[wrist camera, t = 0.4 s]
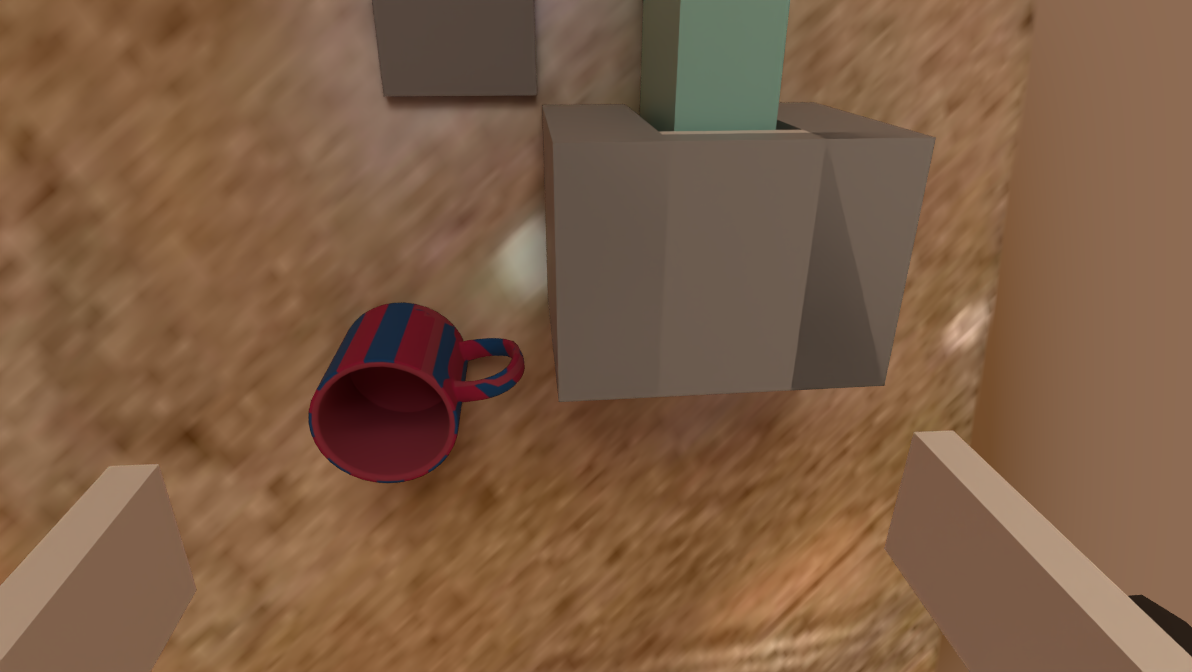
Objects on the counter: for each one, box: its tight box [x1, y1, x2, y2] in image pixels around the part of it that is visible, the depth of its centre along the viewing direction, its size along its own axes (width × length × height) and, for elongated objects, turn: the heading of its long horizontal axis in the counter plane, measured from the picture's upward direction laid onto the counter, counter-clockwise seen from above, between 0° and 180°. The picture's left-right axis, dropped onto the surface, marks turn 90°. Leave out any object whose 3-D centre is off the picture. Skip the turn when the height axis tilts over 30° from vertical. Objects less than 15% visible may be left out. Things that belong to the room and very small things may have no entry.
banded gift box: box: [640, 0, 790, 132], centre depth 29 cm, size 12×4×8 cm, turn 0°
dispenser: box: [542, 102, 936, 402], centre depth 31 cm, size 10×14×11 cm
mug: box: [309, 303, 525, 483], centre depth 35 cm, size 7×10×7 cm
